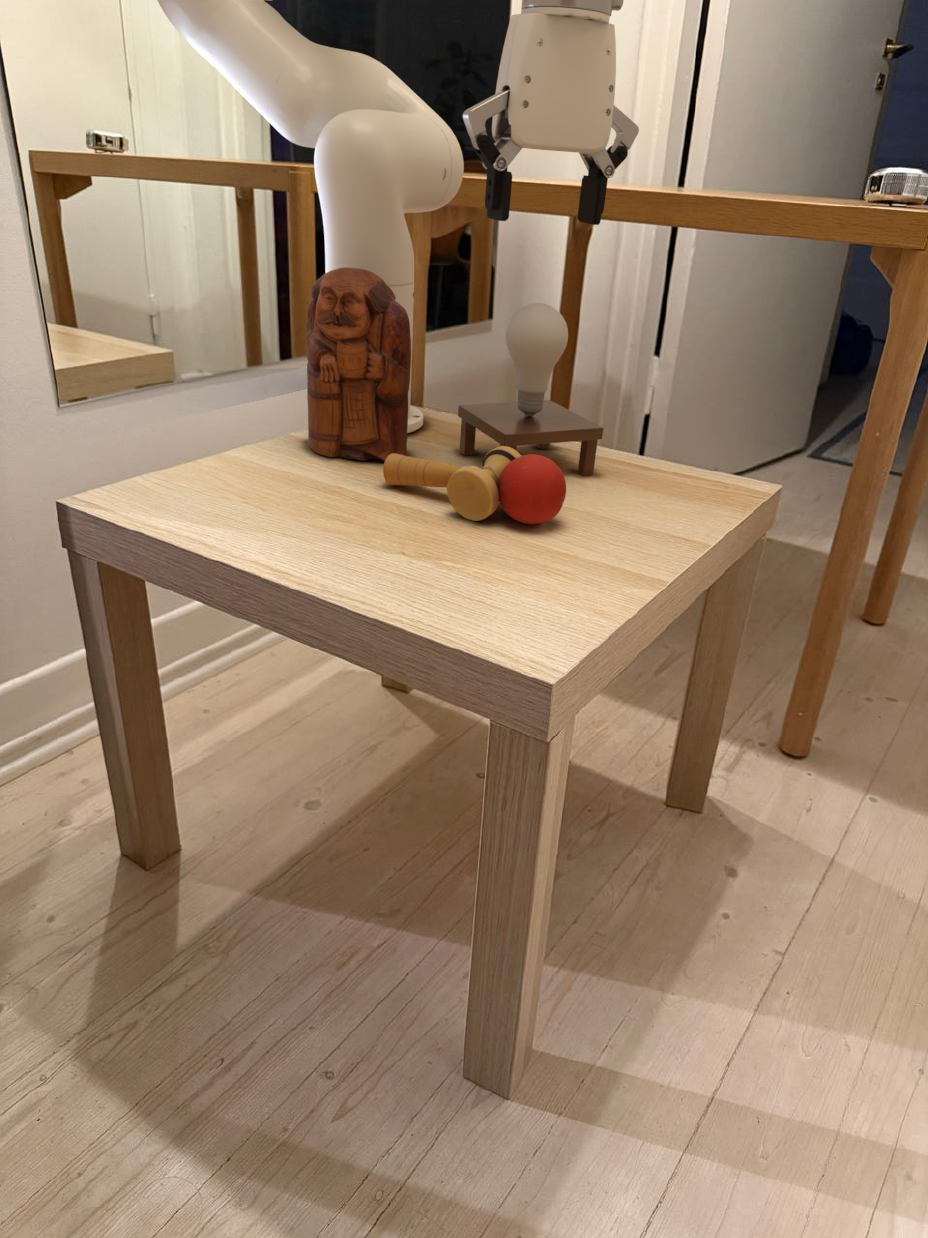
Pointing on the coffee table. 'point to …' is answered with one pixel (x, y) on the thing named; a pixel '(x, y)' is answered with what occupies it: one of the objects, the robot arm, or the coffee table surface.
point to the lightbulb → (535, 351)
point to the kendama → (489, 484)
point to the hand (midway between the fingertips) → (543, 221)
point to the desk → (530, 429)
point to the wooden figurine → (357, 367)
